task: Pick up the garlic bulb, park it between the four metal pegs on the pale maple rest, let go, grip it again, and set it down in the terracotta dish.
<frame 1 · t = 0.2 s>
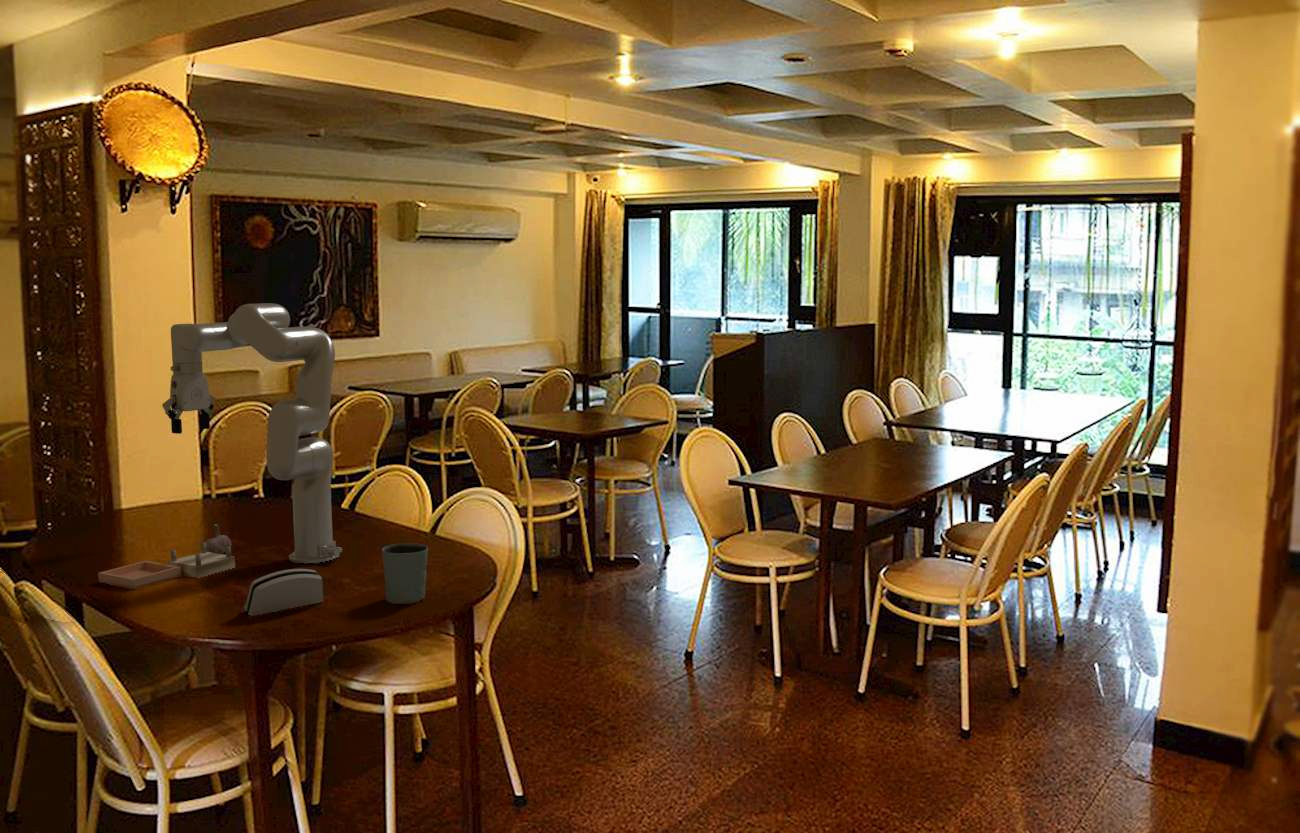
hand: (191, 431, 307), 31 cm above the table, tool pointing down, fingers open, 9 cm apart
grey arched block: (285, 610, 246), on the table
garlic bulb: (217, 554, 296), on the table
terracotta dish: (140, 579, 270), on the table
peg rest: (202, 570, 278), on the table
grey green cup: (406, 600, 253), on the table
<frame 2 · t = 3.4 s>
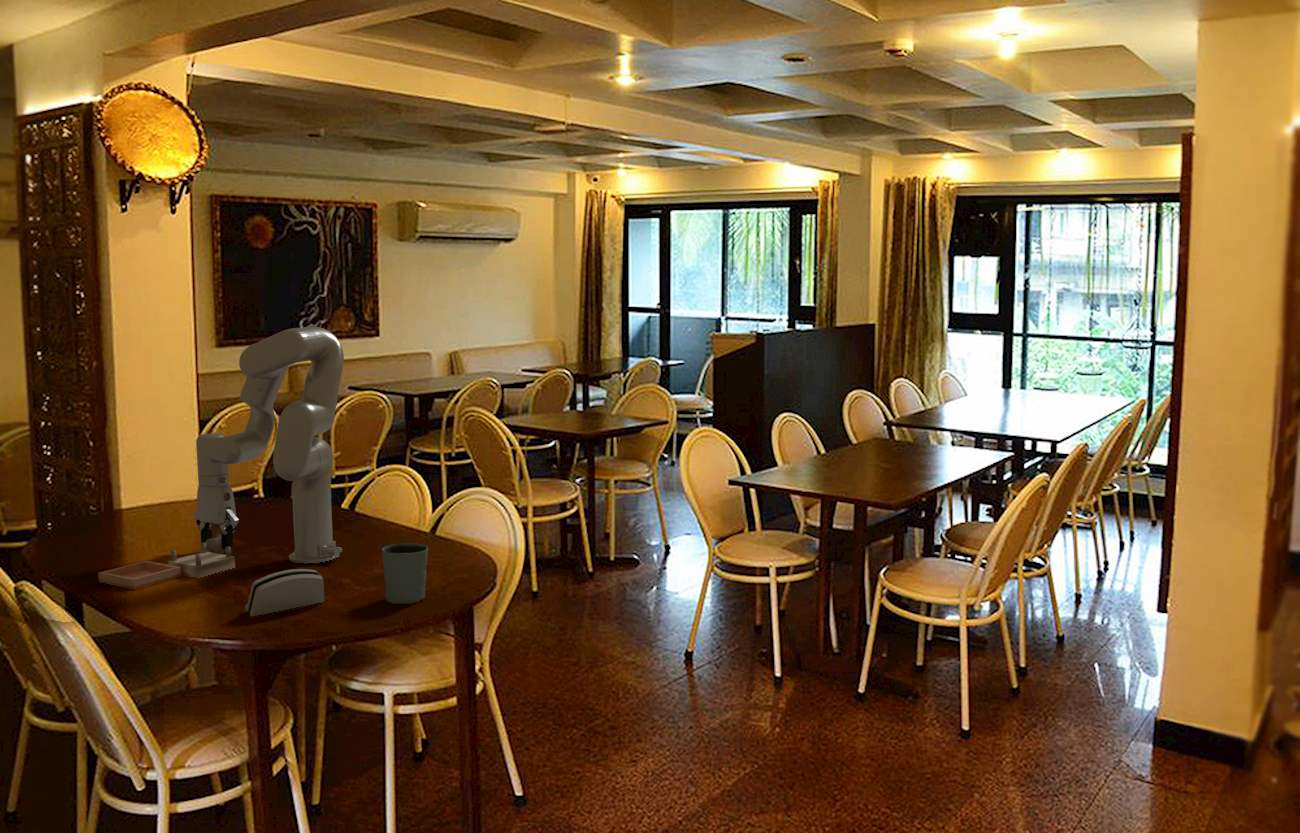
hand: (217, 546, 295), 2 cm above the table, tool pointing down, fingers closed on garlic bulb, 7 cm apart
garlic bulb: (217, 553, 296), on the table, touching gripper
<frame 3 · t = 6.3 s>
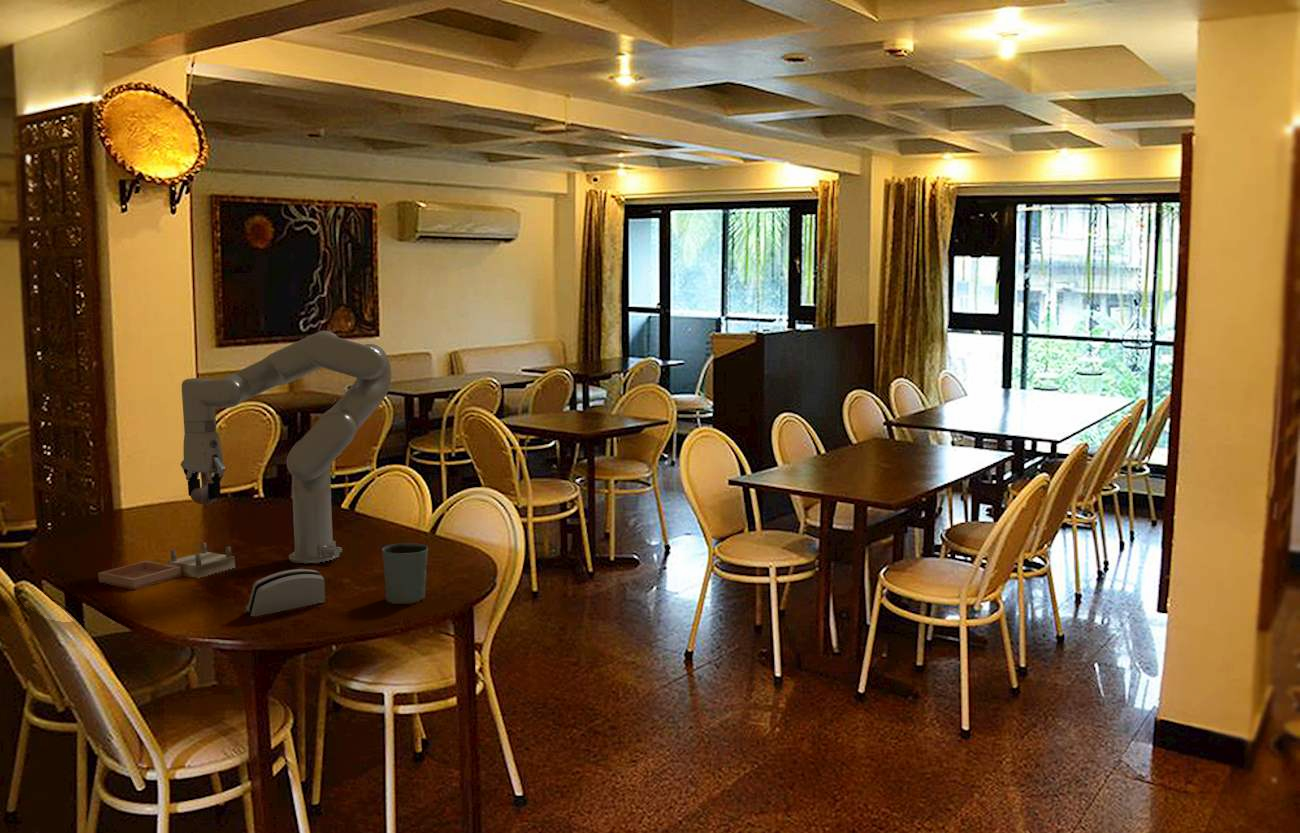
hand: (204, 496, 282), 18 cm above the table, tool pointing down, fingers closed on garlic bulb, 7 cm apart
garlic bulb: (205, 504, 283), point 15 cm above the table, touching gripper
when the fingers open (6 cm above the table, at t = 9.5 s): garlic bulb drops 1 cm, resting on peg rest.
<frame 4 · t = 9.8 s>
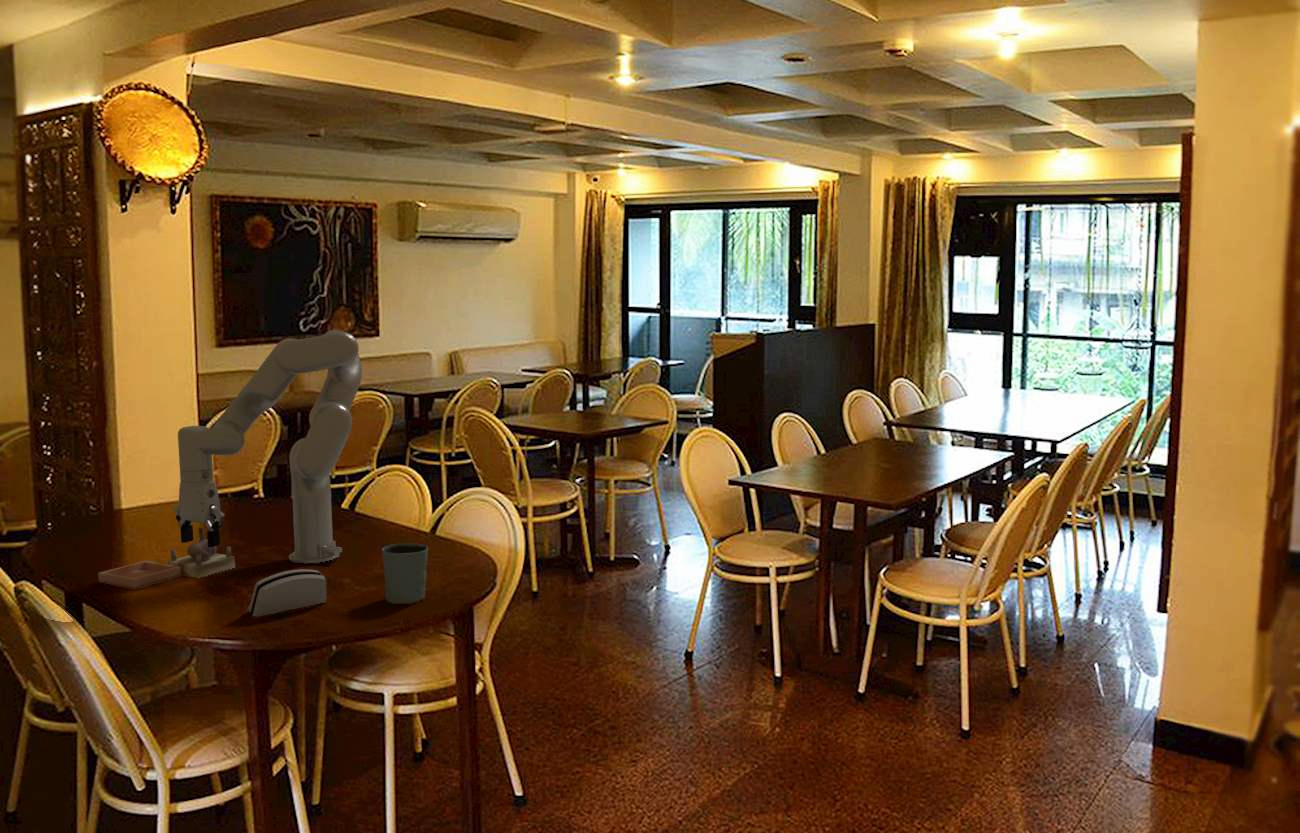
hand: (200, 543, 277), 7 cm above the table, tool pointing down, fingers open, 9 cm apart
garlic bulb: (202, 559, 278), point 3 cm above the table, touching peg rest
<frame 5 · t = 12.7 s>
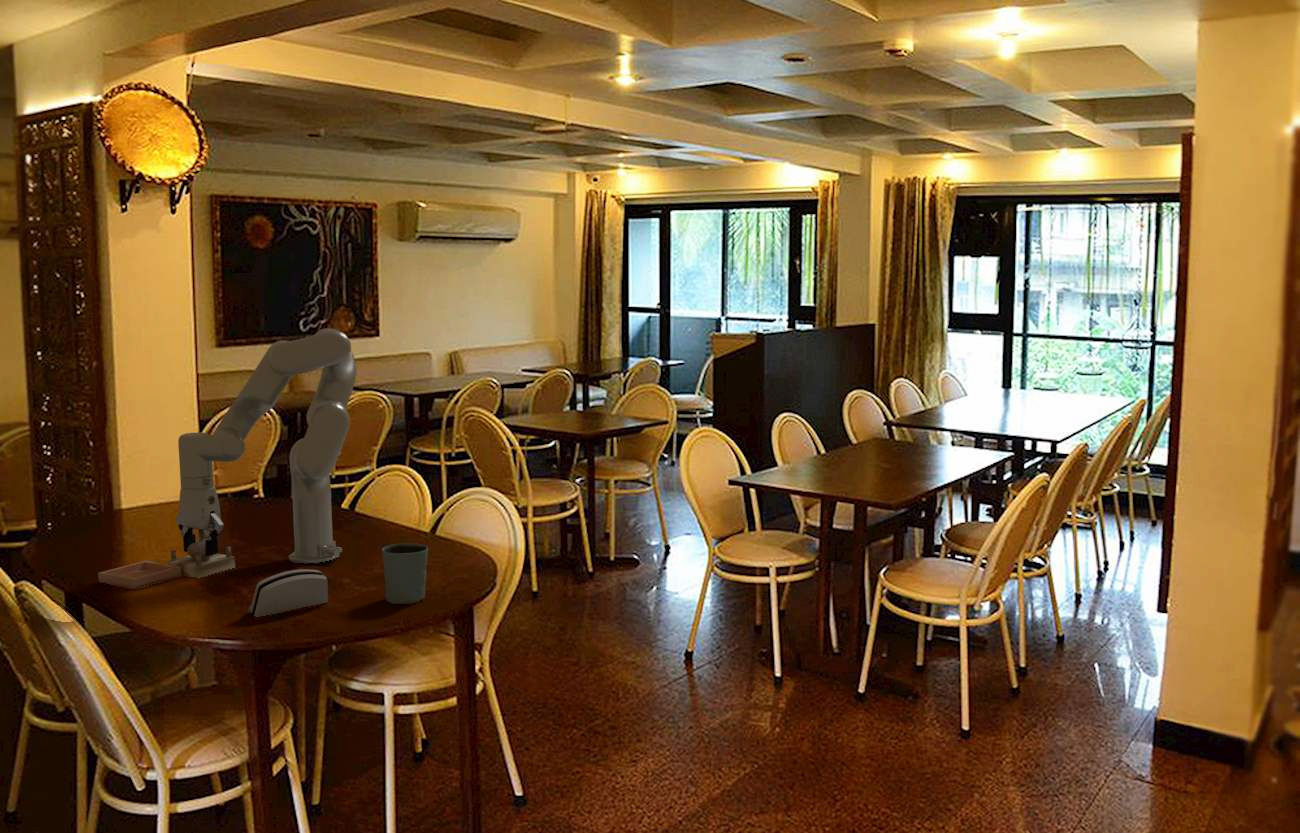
hand: (201, 552, 277), 5 cm above the table, tool pointing down, fingers closed on garlic bulb, 7 cm apart
garlic bulb: (202, 559, 278), point 3 cm above the table, touching gripper, peg rest
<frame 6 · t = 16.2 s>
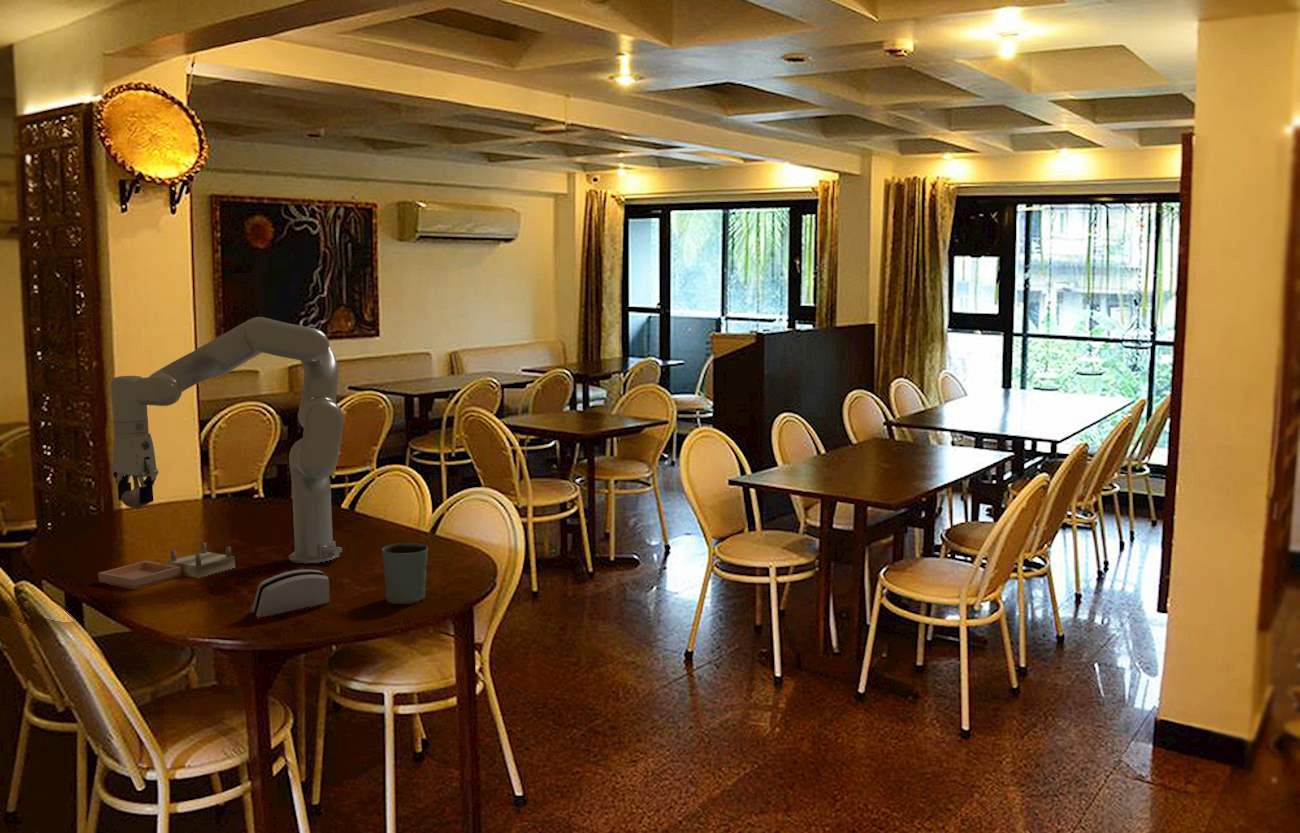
hand: (136, 500, 267), 20 cm above the table, tool pointing down, fingers closed on garlic bulb, 7 cm apart
garlic bulb: (137, 507, 268), point 18 cm above the table, touching gripper
when the fingers open (4 cm above the table, at t = 19.7 s): garlic bulb drops 1 cm, resting on terracotta dish.
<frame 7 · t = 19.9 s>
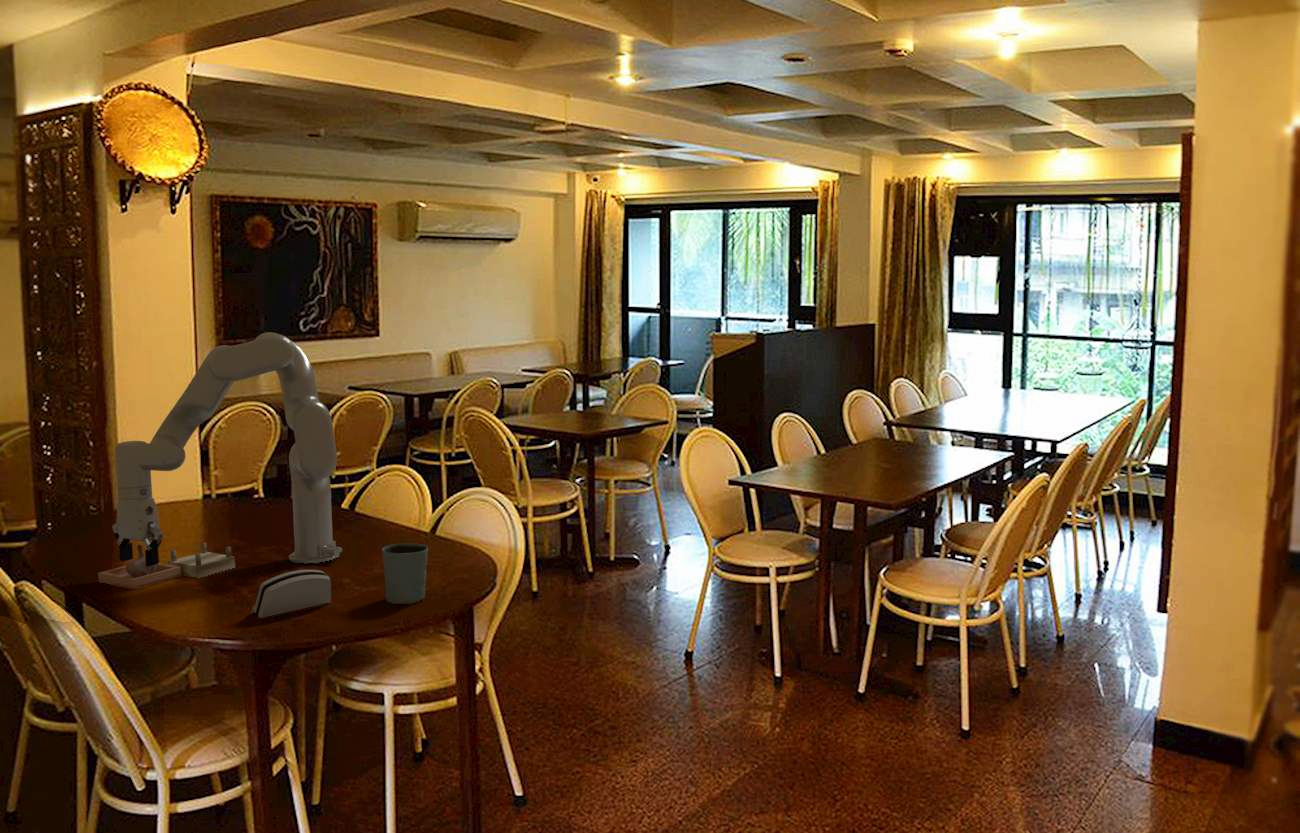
hand: (139, 562, 269), 4 cm above the table, tool pointing down, fingers open, 9 cm apart
garlic bulb: (141, 577, 270), point 1 cm above the table, touching terracotta dish
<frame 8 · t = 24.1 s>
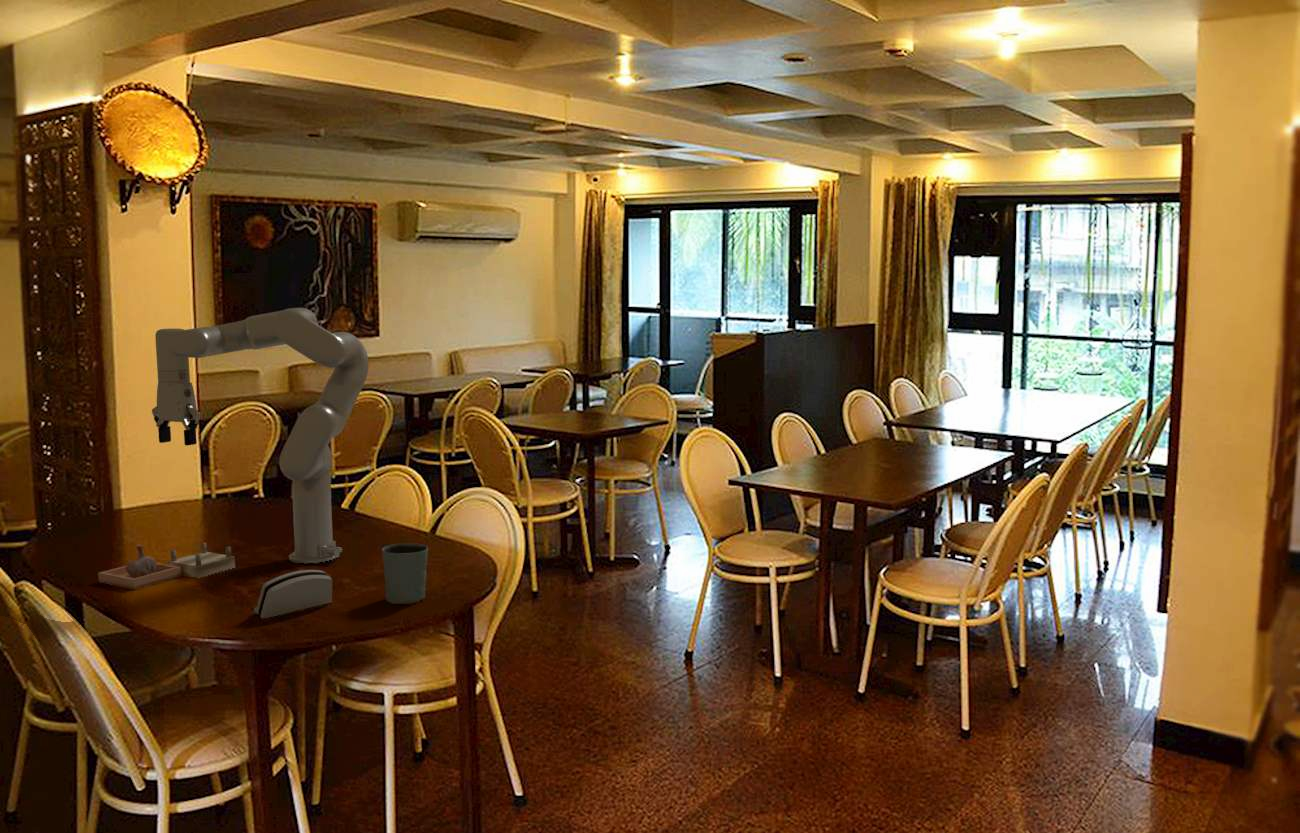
hand: (177, 443, 286), 30 cm above the table, tool pointing down, fingers open, 9 cm apart
at the end: garlic bulb inside the target area on the terracotta dish (0.3 cm from its centre), point 0.6 cm above the terracotta dish's base; the gripper is holding nothing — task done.
